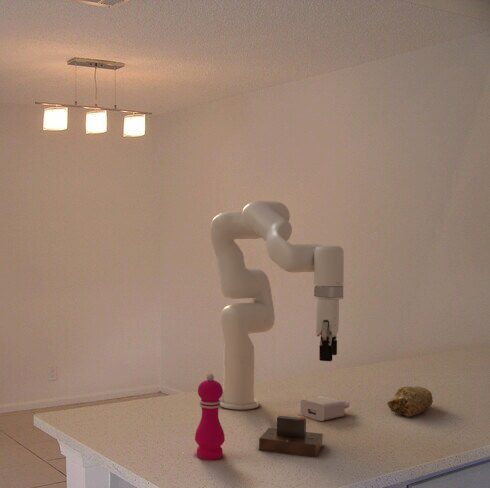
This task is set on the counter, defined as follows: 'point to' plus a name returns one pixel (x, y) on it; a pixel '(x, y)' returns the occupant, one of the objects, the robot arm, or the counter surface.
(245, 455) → the counter surface
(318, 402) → the charger
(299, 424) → the dark bar red tip
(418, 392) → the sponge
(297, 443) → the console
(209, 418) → the pepper mill
